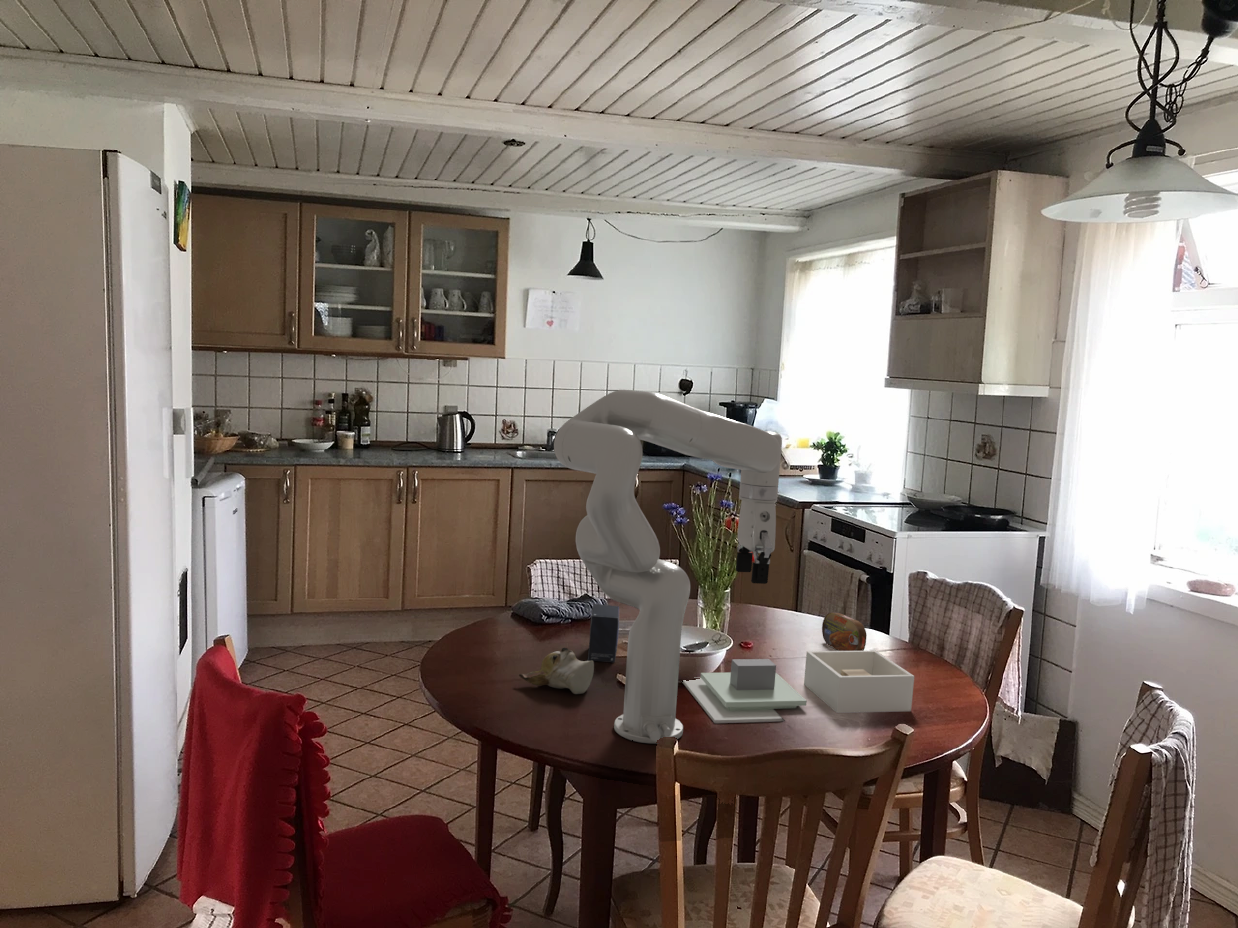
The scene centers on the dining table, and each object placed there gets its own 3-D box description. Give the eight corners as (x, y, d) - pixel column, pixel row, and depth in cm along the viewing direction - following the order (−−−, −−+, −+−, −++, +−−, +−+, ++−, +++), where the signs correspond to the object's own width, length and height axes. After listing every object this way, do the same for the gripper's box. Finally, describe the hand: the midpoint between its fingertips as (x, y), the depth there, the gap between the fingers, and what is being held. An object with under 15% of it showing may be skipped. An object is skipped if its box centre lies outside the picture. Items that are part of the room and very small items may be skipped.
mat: (827, 720, 181) (828, 717, 181) (714, 723, 176) (714, 720, 176) (782, 679, 203) (782, 676, 203) (681, 680, 198) (681, 678, 198)
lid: (805, 711, 183) (808, 676, 182) (725, 713, 179) (727, 677, 179) (774, 681, 199) (777, 649, 198) (700, 683, 196) (702, 649, 195)
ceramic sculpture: (578, 659, 181) (516, 647, 189) (577, 703, 181) (516, 689, 189) (607, 647, 190) (547, 636, 198) (606, 689, 190) (547, 676, 198)
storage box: (910, 714, 186) (914, 676, 185) (836, 716, 183) (839, 677, 182) (872, 686, 202) (875, 650, 201) (803, 687, 198) (806, 651, 197)
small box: (616, 663, 207) (619, 617, 206) (587, 661, 207) (589, 615, 206) (617, 648, 217) (620, 604, 216) (589, 647, 217) (592, 603, 216)
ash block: (872, 701, 190) (874, 677, 190) (850, 702, 189) (852, 678, 189) (861, 692, 195) (863, 669, 195) (839, 693, 194) (841, 669, 193)
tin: (819, 641, 233) (822, 608, 232) (830, 640, 235) (833, 607, 234) (855, 660, 220) (859, 625, 219) (866, 659, 221) (870, 625, 220)
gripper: (792, 500, 178) (784, 588, 180) (761, 487, 195) (754, 568, 196) (754, 498, 176) (747, 587, 178) (727, 486, 193) (720, 567, 195)
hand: (751, 577), depth 187 cm, fingers open, 9 cm apart
